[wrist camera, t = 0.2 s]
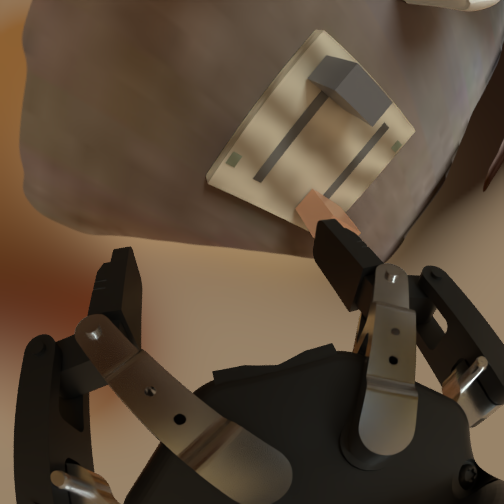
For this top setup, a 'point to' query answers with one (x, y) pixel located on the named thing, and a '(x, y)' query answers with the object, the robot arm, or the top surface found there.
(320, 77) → the block
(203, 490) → the robot arm
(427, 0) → the photo printer
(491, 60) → the top surface
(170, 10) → the top surface
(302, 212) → the block
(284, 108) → the fader console
